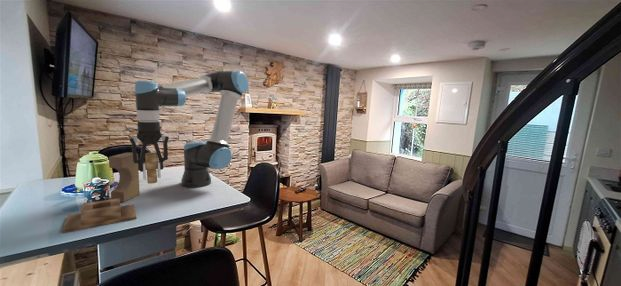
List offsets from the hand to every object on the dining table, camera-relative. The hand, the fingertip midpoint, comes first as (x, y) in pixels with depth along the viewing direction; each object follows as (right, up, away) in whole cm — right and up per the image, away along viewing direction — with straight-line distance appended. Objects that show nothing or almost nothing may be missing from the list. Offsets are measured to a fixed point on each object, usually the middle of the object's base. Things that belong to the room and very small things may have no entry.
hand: (152, 178), depth 105 cm
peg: (0, -2, 0) cm, 2 cm away
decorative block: (-19, -11, +11) cm, 24 cm away
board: (-13, -14, -9) cm, 21 cm away
